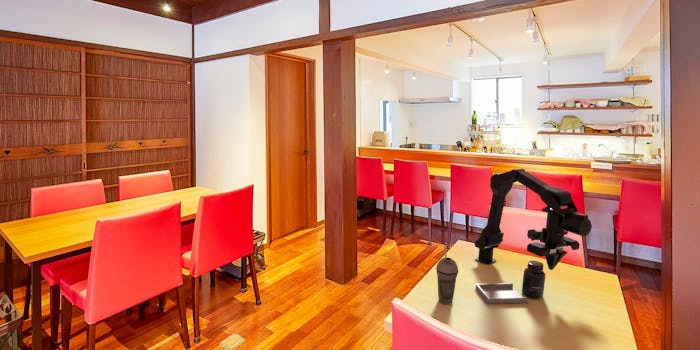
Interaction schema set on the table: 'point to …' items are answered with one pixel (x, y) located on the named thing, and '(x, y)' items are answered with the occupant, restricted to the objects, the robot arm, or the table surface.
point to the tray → (500, 293)
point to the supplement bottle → (533, 280)
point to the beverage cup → (446, 279)
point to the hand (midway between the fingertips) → (550, 269)
